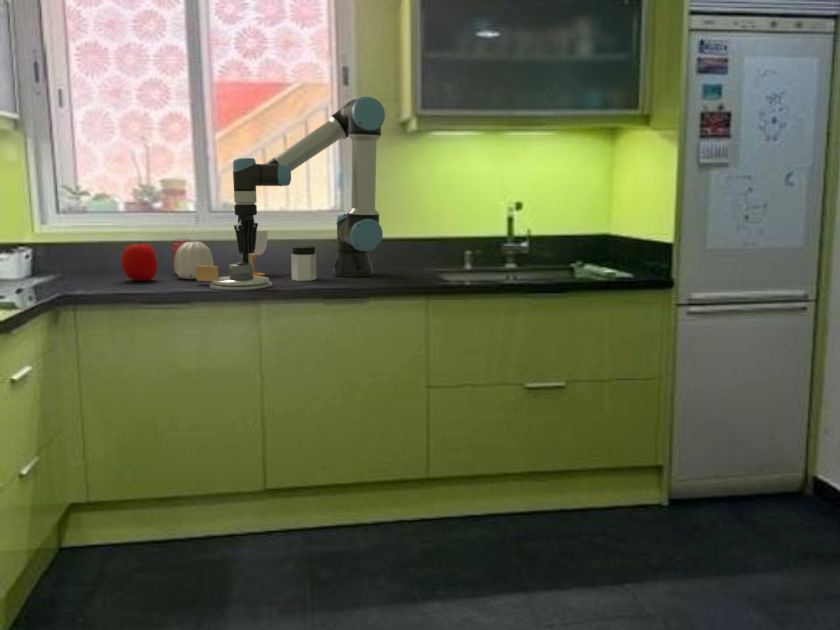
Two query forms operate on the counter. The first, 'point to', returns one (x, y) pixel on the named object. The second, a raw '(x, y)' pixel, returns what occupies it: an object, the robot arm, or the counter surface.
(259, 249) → the cup
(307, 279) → the jar
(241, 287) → the base
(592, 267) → the counter surface
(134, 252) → the tomato
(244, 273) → the grey stone pot
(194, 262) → the vase
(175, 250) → the soda can
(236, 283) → the turntable
